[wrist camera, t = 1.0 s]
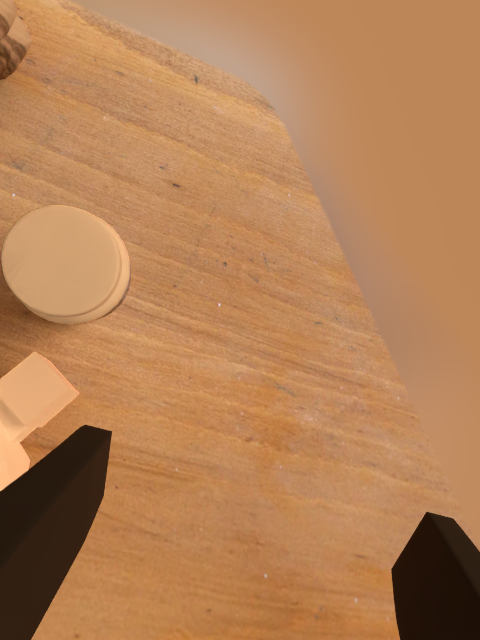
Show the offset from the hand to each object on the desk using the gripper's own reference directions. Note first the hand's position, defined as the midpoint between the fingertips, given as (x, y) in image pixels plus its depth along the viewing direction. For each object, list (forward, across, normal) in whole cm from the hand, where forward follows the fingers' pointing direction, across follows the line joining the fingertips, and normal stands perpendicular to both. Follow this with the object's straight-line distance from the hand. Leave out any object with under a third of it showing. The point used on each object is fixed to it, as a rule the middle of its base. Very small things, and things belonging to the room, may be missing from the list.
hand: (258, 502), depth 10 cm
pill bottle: (+14, +10, +2) cm, 18 cm away
